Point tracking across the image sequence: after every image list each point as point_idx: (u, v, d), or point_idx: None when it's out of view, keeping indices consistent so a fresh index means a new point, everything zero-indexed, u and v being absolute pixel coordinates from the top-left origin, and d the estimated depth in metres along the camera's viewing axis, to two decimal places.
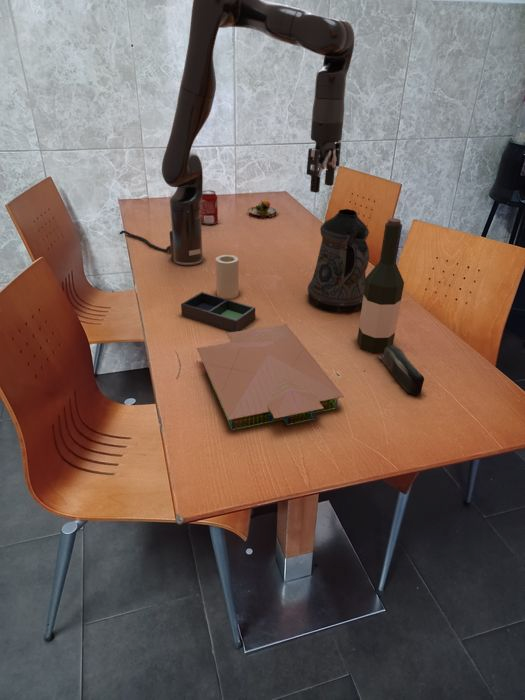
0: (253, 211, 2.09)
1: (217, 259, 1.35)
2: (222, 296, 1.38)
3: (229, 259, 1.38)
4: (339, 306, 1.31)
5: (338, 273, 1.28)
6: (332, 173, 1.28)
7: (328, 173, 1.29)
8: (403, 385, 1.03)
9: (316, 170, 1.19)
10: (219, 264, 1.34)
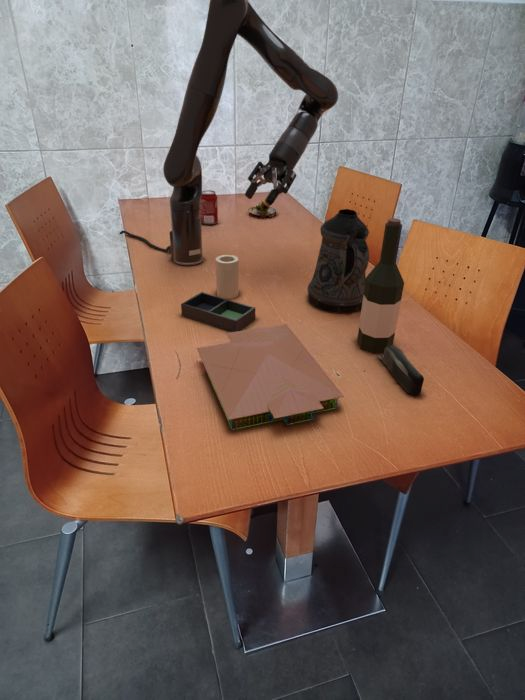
0: (253, 211, 2.09)
1: (217, 259, 1.35)
2: (222, 296, 1.38)
3: (229, 259, 1.38)
4: (339, 306, 1.31)
5: (338, 273, 1.28)
6: (255, 189, 1.38)
7: (253, 187, 1.37)
8: (403, 385, 1.03)
9: None
10: (219, 264, 1.34)
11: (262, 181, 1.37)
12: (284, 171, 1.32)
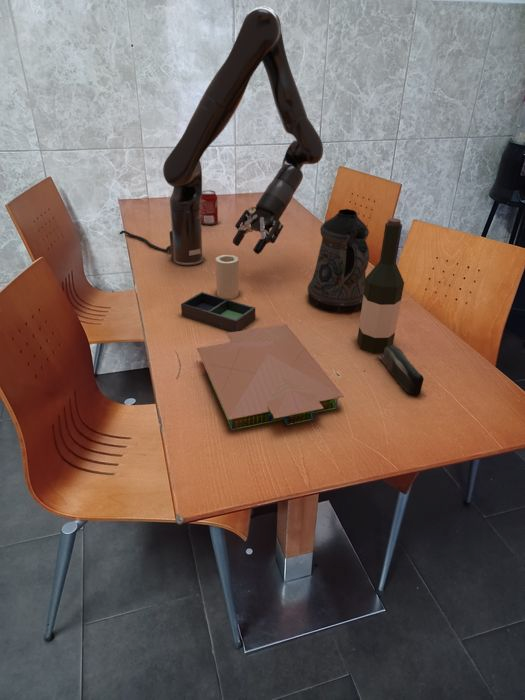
0: (253, 211, 2.09)
1: (217, 259, 1.35)
2: (222, 296, 1.38)
3: (229, 259, 1.38)
4: (339, 306, 1.31)
5: (338, 273, 1.28)
6: (243, 237, 1.42)
7: (240, 235, 1.41)
8: (402, 385, 1.03)
9: None
10: (219, 264, 1.34)
11: (249, 229, 1.41)
12: (271, 221, 1.36)
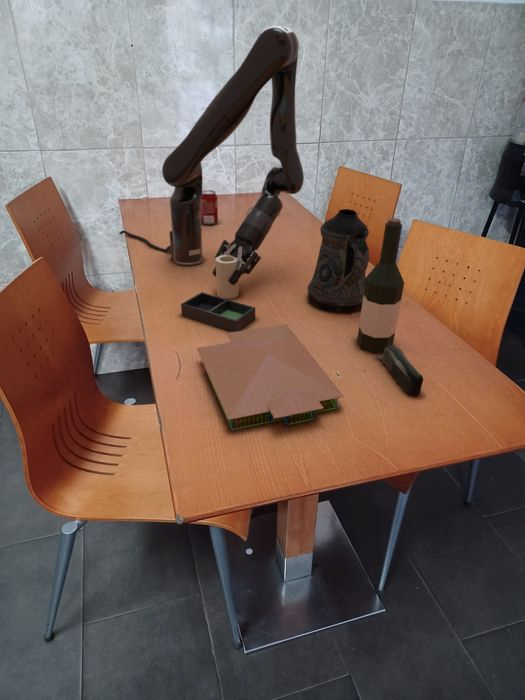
0: None
1: (217, 259, 1.35)
2: (222, 296, 1.38)
3: (229, 259, 1.38)
4: (339, 306, 1.31)
5: (338, 273, 1.28)
6: None
7: None
8: (402, 385, 1.03)
9: None
10: (219, 264, 1.34)
11: None
12: (249, 252, 1.35)
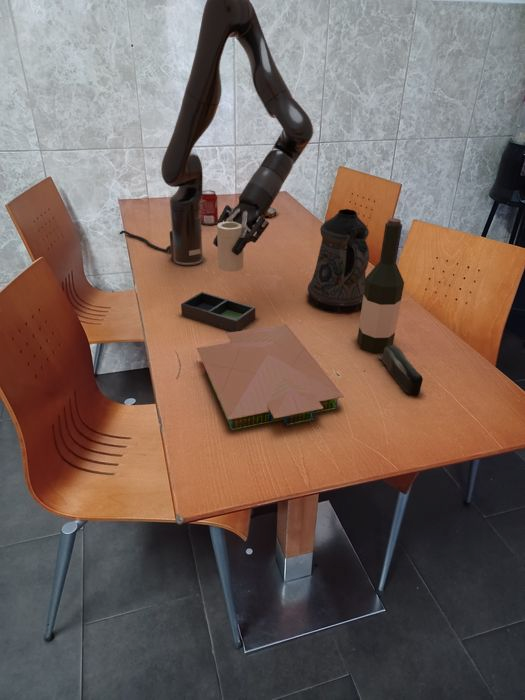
0: None
1: (219, 225, 1.18)
2: (224, 269, 1.21)
3: (232, 226, 1.20)
4: (339, 306, 1.31)
5: (338, 273, 1.28)
6: None
7: None
8: (402, 385, 1.03)
9: None
10: (221, 230, 1.16)
11: None
12: (256, 217, 1.17)
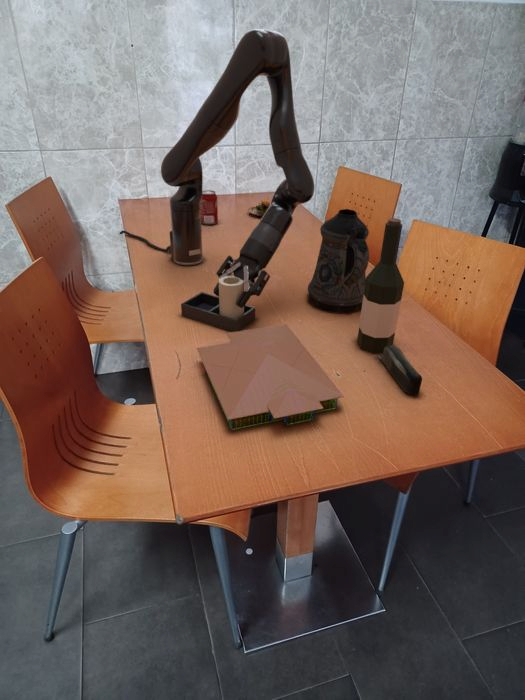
0: (253, 211, 2.09)
1: (220, 281, 1.21)
2: None
3: (234, 280, 1.23)
4: (339, 306, 1.31)
5: (338, 273, 1.28)
6: None
7: None
8: (401, 385, 1.03)
9: None
10: (222, 286, 1.19)
11: None
12: (256, 271, 1.20)
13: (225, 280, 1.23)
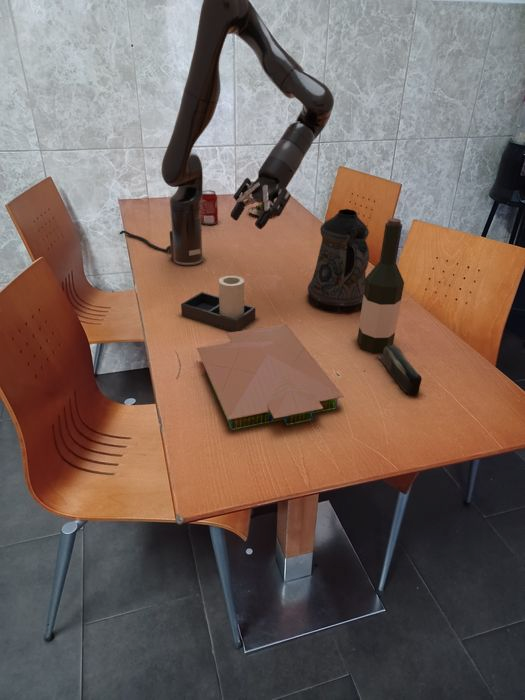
0: (253, 211, 2.09)
1: (220, 281, 1.21)
2: None
3: (234, 280, 1.23)
4: (339, 306, 1.31)
5: (338, 273, 1.28)
6: (242, 209, 1.20)
7: (240, 207, 1.19)
8: (401, 384, 1.03)
9: None
10: (222, 286, 1.19)
11: (250, 200, 1.20)
12: (277, 190, 1.15)
13: (225, 280, 1.23)
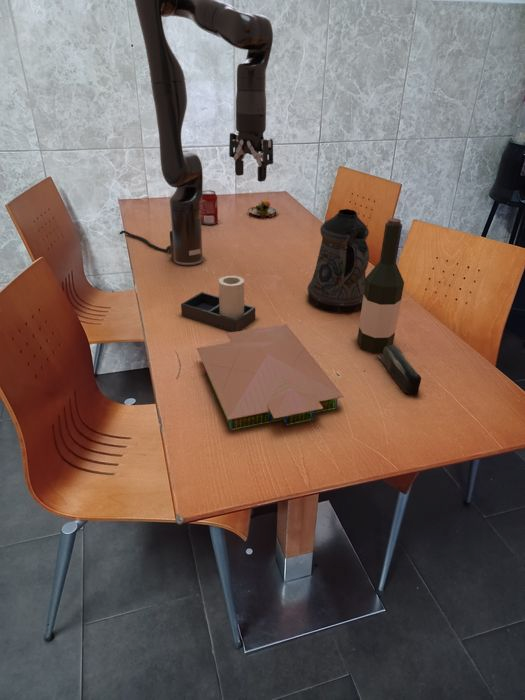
0: (253, 211, 2.09)
1: (220, 281, 1.21)
2: None
3: (234, 280, 1.23)
4: (339, 306, 1.31)
5: (338, 273, 1.28)
6: (242, 162, 1.34)
7: (239, 163, 1.33)
8: (400, 384, 1.03)
9: None
10: (222, 286, 1.19)
11: (244, 153, 1.31)
12: (259, 142, 1.24)
13: (225, 280, 1.23)
